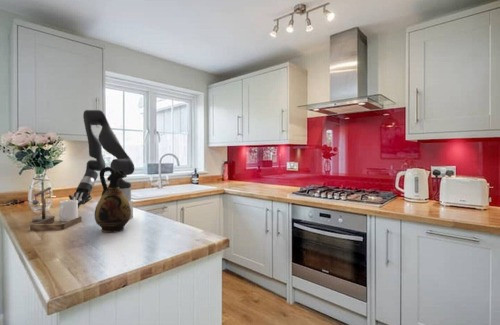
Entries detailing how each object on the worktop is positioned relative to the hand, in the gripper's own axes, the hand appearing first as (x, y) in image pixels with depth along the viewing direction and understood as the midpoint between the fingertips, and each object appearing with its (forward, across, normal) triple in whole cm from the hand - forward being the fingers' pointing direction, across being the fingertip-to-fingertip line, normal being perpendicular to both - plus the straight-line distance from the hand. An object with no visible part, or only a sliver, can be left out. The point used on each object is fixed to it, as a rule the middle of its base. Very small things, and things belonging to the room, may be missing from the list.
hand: (74, 210), depth 147 cm
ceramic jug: (+20, +32, -14) cm, 41 cm away
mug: (+8, 0, -1) cm, 8 cm away
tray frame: (+14, +1, -8) cm, 16 cm away
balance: (+6, -14, 0) cm, 15 cm away
